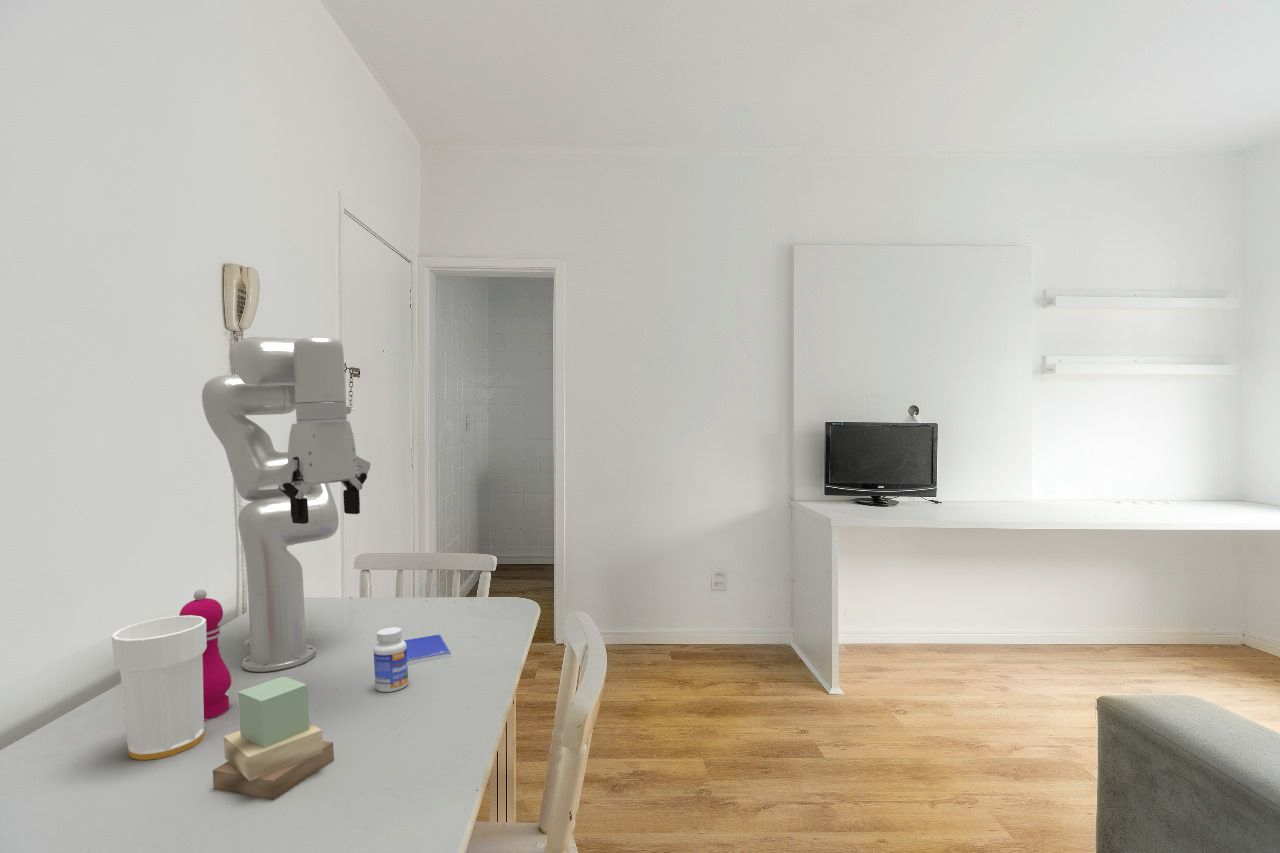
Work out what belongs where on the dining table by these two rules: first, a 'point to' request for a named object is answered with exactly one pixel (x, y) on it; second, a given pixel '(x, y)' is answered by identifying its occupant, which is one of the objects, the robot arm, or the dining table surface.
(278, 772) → the walnut base block
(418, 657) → the hard drive
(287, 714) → the sage block
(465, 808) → the dining table surface
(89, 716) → the dining table surface
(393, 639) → the pill bottle
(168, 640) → the cup
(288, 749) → the oak top block
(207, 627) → the pepper mill
